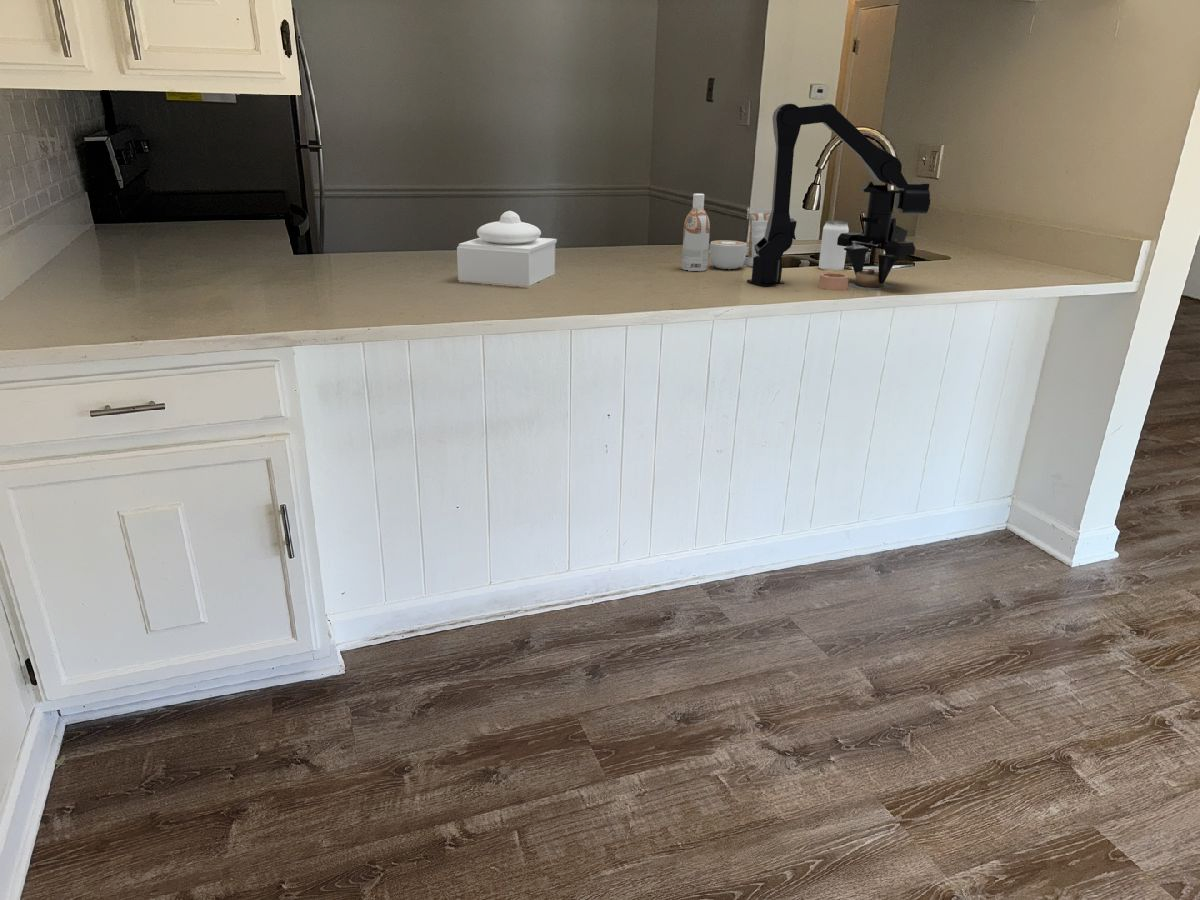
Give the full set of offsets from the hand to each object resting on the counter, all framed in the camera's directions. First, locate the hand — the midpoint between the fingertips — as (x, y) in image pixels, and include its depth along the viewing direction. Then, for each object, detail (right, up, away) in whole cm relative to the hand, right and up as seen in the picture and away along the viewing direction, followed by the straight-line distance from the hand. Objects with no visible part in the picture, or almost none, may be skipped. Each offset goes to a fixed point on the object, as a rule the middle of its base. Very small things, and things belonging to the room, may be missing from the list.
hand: (869, 281), depth 201 cm
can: (-3, +8, +23) cm, 24 cm away
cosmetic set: (-31, +7, +21) cm, 38 cm away
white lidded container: (-86, 0, +1) cm, 86 cm away
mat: (0, -1, +1) cm, 1 cm away
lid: (0, -1, 0) cm, 1 cm away
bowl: (-10, -2, -3) cm, 10 cm away
